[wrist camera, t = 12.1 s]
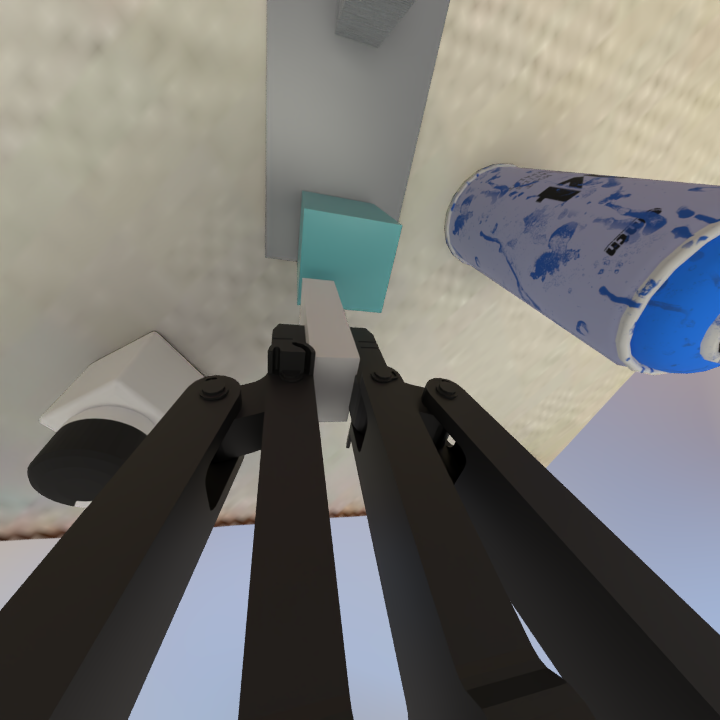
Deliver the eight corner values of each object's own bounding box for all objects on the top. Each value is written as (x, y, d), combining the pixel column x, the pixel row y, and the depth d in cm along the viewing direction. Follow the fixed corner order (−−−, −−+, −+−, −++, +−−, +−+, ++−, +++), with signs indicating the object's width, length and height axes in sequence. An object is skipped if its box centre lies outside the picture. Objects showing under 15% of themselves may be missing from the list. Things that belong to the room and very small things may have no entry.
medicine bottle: (89, 363, 27) (-28, 485, 17) (155, 328, 26) (71, 436, 16) (154, 411, 31) (89, 531, 21) (212, 382, 30) (172, 494, 20)
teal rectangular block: (297, 264, 24) (297, 304, 18) (302, 190, 21) (304, 208, 15) (360, 272, 25) (381, 312, 19) (373, 203, 22) (402, 225, 16)
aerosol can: (542, 153, 23) (1108, 167, 7) (525, 255, 28) (839, 403, 12) (444, 174, 23) (801, 239, 7) (444, 273, 27) (652, 452, 11)
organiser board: (266, 255, 24) (265, 257, 23) (268, -97, 15) (267, -106, 14) (384, 270, 26) (386, 273, 26) (451, -23, 17) (456, -28, 16)
